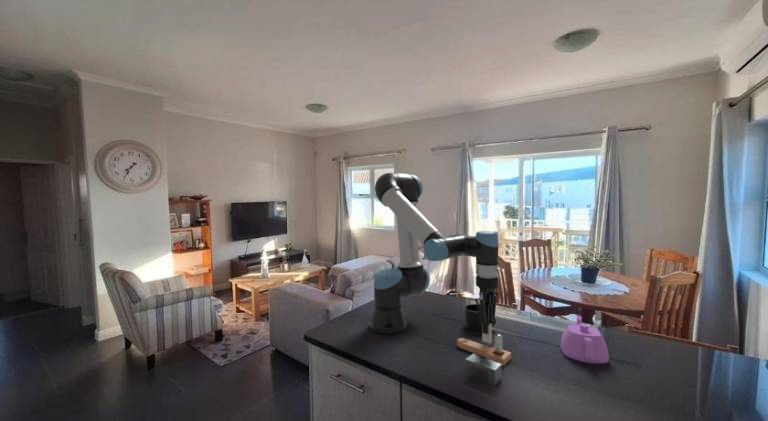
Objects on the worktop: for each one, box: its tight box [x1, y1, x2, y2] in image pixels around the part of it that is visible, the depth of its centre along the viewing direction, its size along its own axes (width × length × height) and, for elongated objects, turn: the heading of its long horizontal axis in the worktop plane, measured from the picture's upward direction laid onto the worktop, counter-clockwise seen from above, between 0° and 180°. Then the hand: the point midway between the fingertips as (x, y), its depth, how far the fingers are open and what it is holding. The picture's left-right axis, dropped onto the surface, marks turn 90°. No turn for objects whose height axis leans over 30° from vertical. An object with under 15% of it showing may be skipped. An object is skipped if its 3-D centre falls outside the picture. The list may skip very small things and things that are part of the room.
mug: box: [464, 303, 497, 333], centre depth 127 cm, size 9×12×9 cm
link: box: [456, 337, 512, 367], centre depth 106 cm, size 18×6×2 cm, turn 46°
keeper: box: [465, 353, 503, 387], centre depth 92 cm, size 9×4×5 cm, turn 46°
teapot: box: [560, 315, 610, 365], centre depth 105 cm, size 13×20×11 cm
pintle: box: [494, 333, 503, 356], centre depth 102 cm, size 2×2×8 cm
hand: (486, 341), depth 111 cm, fingers closed
